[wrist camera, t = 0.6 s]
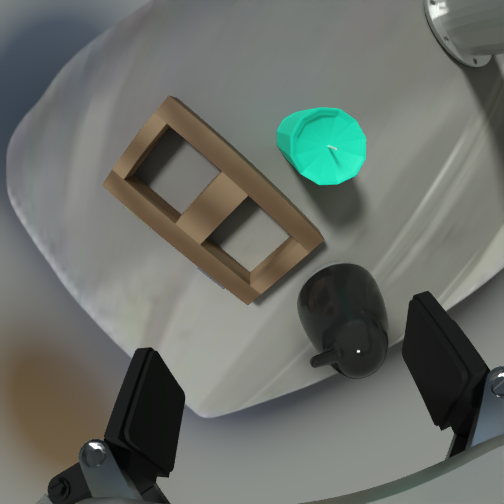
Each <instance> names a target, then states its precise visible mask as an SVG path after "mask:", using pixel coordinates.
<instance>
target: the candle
mask: <svg viewBox="0 0 504 504" xmlns="http://www.w3.org/2000/svg"><path fill="white" fill-rule="evenodd" d="M277 146H278V147H279V149H280V151H281V152H282V154H283V155H284V157H285V158H286V159H287V160H288V161H289V162H290V163H291V164H292V165H293V166H294V168H295V169H296V170H297V171H298V172H299V173H300V174H301V175H303V176H305V177H306V178H308V179H310V180H312V181H313V182H315V183H317V184H318V185H334V184H340V183H342V182H344V181H346V180H348V179H350V178H352V177H354V176H356V175H357V173H358V172H359V170H360V168H361V166H362V164H363V163H364V161H365V159H366V137H365V135H364V134H363V132H362V130H361V128H360V126H359V125H358V123H357V121H356V120H355V119H354V118H352V117H351V116H349V115H348V114H346V113H345V112H344V111H342V110H341V109H336V108H321V107H319V108H314V109H308V110H303V111H298V112H295V113H293V114H291V115H289V116H288V117H286V118H284V119H283V121H282V122H281V124H280V126H279V128H278V130H277Z"/></svg>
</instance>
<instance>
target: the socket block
mask: <svg viewBox="0 0 504 504" xmlns="http://www.w3.org/2000/svg"><path fill="white" fill-rule="evenodd" d="M171 127H172V128H173V129H174V130H175V131H176V132H177V133H179V134H180V135H181V136H182V137H183V138H184V139H186V140H187V141H188V142H189V143H190V144H191V145H192V146H194V147H195V148H196V149H197V150H198V151H199V152H201V153H202V154H203V155H204V156H205V157H206V158H207V159H208V160H210V161H211V162H212V163H213V164H214V165H215V166H216V167H217V168H219V169H220V170H221V172H220V173H219V174H218V175H217V176H216V177H215V178H214V179H213V180H212V181H211V183H210V184H209V185H208V186H207V187H206V188H205V189H204V190H203V191H202V192H201V193H200V195H199V196H198V197H197V198H196V199H195V200H194V201H193V202H192V203H191V205H190V206H189V207H188V208H187V209H186V210H185V211H184V213H183V214H182V215H181V214H180V213H179V212H178V211H176V210H175V209H174V208H173V207H172V206H171V205H169V204H168V203H167V202H166V201H165V200H164V199H162V198H161V197H160V196H159V195H158V194H157V193H155V192H154V191H153V190H152V189H151V188H150V187H149V186H147V185H146V184H145V183H144V182H143V181H142V180H140V179H139V178H138V177H137V176H136V175H135V174H134V173H135V172H136V170H137V169H138V168H139V166H140V165H141V164H142V162H143V161H144V160H145V158H146V157H147V156H148V155H149V153H150V152H151V151H152V149H153V148H154V147H155V146H156V144H157V143H158V142H159V141H160V140H161V138H162V137H163V136H164V135H165V133H166V132H167V131H168V130H169V129H170V128H171ZM102 186H103V187H104V188H106V189H107V190H108V191H109V192H110V193H111V194H112V195H113V196H115V197H116V198H117V199H118V200H119V201H120V202H121V203H123V204H124V208H125V209H127V210H128V211H129V212H130V213H131V214H132V215H134V216H135V217H136V218H137V219H138V220H139V221H141V222H142V223H143V224H144V225H145V226H146V227H148V228H149V229H151V228H152V229H153V230H154V231H155V232H156V233H158V234H159V235H160V236H161V237H162V238H164V239H165V240H166V241H167V242H168V243H170V244H171V245H172V246H173V247H175V248H176V249H177V250H178V251H179V252H181V253H182V254H183V255H184V256H186V257H187V258H188V259H189V260H190V261H192V262H193V263H194V264H195V265H197V266H198V269H199V270H200V271H201V272H203V273H204V274H205V275H206V276H208V277H209V278H210V279H211V280H213V281H214V282H215V283H217V284H218V285H219V286H220V287H222V288H223V289H225V288H226V289H227V290H228V291H230V292H231V293H232V294H234V295H235V296H236V297H237V298H239V299H240V300H241V301H243V302H244V303H245V304H247V305H249V304H250V303H251V302H253V301H254V300H255V299H256V298H257V297H259V296H260V295H261V294H262V293H263V292H264V291H266V290H267V289H268V288H269V287H270V286H272V285H273V284H274V283H275V282H276V281H277V280H279V279H280V278H281V277H282V276H283V275H284V274H286V273H287V272H288V271H289V270H290V269H291V268H293V267H294V266H295V265H296V264H297V263H298V262H300V261H301V260H302V259H303V258H304V257H305V256H306V255H308V254H309V253H310V252H311V251H312V250H313V249H314V248H316V247H317V246H318V245H319V244H320V243H321V242H322V241H323V240H324V238H323V236H322V235H321V233H320V231H319V230H318V228H317V227H316V226H315V225H314V224H313V223H312V222H311V221H310V220H309V219H308V218H307V217H306V216H305V215H304V214H303V213H302V212H301V211H300V210H299V209H298V208H297V207H296V206H295V205H294V204H293V203H292V202H291V201H290V200H289V199H288V198H287V197H286V196H285V195H284V194H283V193H282V192H281V191H280V190H279V189H278V188H277V187H276V186H275V185H274V184H273V183H272V182H271V181H269V180H268V179H267V178H266V177H265V176H264V175H263V174H262V173H261V172H260V171H259V170H258V169H257V168H256V167H255V166H254V165H253V164H252V163H250V162H249V161H248V160H247V159H246V158H245V157H244V156H243V155H242V154H241V153H240V152H239V151H237V150H236V149H235V148H234V147H233V146H232V145H231V144H230V143H229V142H227V141H226V140H225V139H224V138H223V137H222V136H221V135H220V134H218V133H217V132H216V131H215V130H214V129H213V128H212V127H211V126H209V125H208V124H207V123H206V122H205V121H204V120H202V119H201V118H200V117H199V116H198V115H197V114H195V113H194V112H193V111H192V110H191V109H189V108H188V107H187V106H186V105H185V104H183V103H182V102H181V101H180V100H179V99H177V98H175V97H172V96H168V97H167V99H166V100H165V101H164V102H163V103H162V104H161V106H160V107H159V108H158V109H157V110H156V112H155V113H154V114H153V115H152V116H151V118H150V119H149V120H148V121H147V123H146V124H145V125H144V126H143V128H142V129H141V130H140V132H139V133H138V134H137V136H136V137H135V138H134V140H133V141H132V142H131V144H130V145H129V146H128V148H127V149H126V150H125V152H124V153H123V155H122V156H121V157H120V159H119V160H118V162H117V163H116V165H115V166H114V168H113V169H112V171H111V172H110V174H109V175H108V177H107V178H106V180H105V181H104V183H103V184H102ZM247 196H249V197H251V198H252V199H253V200H254V201H255V202H256V203H257V204H258V205H259V206H260V207H261V208H262V209H264V210H265V211H266V212H267V213H268V214H269V215H270V216H271V217H272V218H273V219H274V220H275V221H276V222H277V223H278V224H279V225H281V226H282V227H283V228H284V229H285V230H286V231H287V232H288V233H289V234H290V235H291V236H290V237H289V238H288V239H287V240H286V241H285V242H284V243H283V244H281V245H280V246H279V247H278V248H277V249H276V250H275V251H274V252H273V253H272V254H270V255H269V256H268V257H267V258H266V259H265V260H264V261H263V262H262V263H260V264H259V265H258V266H257V267H256V268H255V269H254V270H253V271H252V272H249V271H248V270H246V269H245V268H244V267H243V266H242V265H240V264H239V263H238V262H237V261H236V260H234V259H233V258H232V257H231V256H230V255H228V254H227V253H226V252H225V251H224V250H222V249H221V248H220V247H219V246H218V245H217V244H215V243H214V242H213V241H212V240H211V239H209V238H208V236H209V235H210V234H211V233H212V232H213V231H214V230H215V229H216V228H217V227H218V226H219V225H220V223H221V222H222V221H223V220H224V219H225V218H226V217H227V216H228V215H229V214H230V213H231V212H232V211H233V210H234V209H235V208H236V207H237V206H238V205H239V204H240V203H241V202H242V201H243V200H244V199H245V198H246V197H247Z"/></svg>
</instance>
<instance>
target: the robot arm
mask: <svg viewBox="0 0 504 504" xmlns="http://www.w3.org/2000/svg"><path fill="white" fill-rule="evenodd" d="M424 7H425V13H426V17H427V20H428V22H429V25H430V27H431V29H432V31H433V33H434V34H435V36H436V38H437V39H438V41H439V42H440V43H441V45H442V46H443V47H444V48H445V49H446V51H447V52H448V53H449V54H450V55H451V56H452V57H454V58H455V59H456V60H458V61H459V62H460V63H462V64H464V65H466V66H470V67H482V66H484V65H486V64H487V63H488V62H489V61H490V59H491V56H492V55H498V54H504V0H425V4H424ZM402 355H403V359H404V361H405V363H406V364H407V366H408V369H409V371H410V373H411V375H412V376H413V379H414V381H415V383H416V385H417V387H418V389H419V391H420V394H421V395H422V398H423V400H424V402H425V404H426V407H427V409H428V411H429V413H430V415H431V418H432V420H433V422H434V424H435V425H436V426H438V425H439V427H440V429H441V431H442V430H444V429H446V428H448V427H450V426H451V427H452V430H453V432H454V436H453V439H452V442H451V444H450V448H449V450H448V453H447V455H446V458H445V460H444V461H442V462H440V463H438V464H435V465H433V466H431V467H428V468H426V469H424V470H421V471H419V472H416V473H414V474H411V475H409V476H406V477H403V478H401V479H398V480H395V481H392V482H389V483H386V484H383V485H380V486H377V487H373V488H370V489H367V490H363V491H359V492H356V493H352V494H347V495H343V496H339V497H335V498H329V499H324V500H319V501H313V502H306V503H300V504H504V366H500V367H496V368H494V369H493V370H491V371H490V369H489V368H488V366H487V365H486V363H485V362H484V360H483V359H482V358H481V356H480V355H479V353H478V352H477V350H476V349H475V347H474V346H473V345H472V343H471V342H470V341H469V339H468V338H467V337H466V335H465V334H464V332H463V331H462V330H461V328H460V327H459V326H458V325H457V323H456V322H455V321H454V320H452V319H451V318H450V317H449V315H448V314H447V313H446V311H445V310H444V309H443V308H442V306H441V305H440V304H439V303H438V301H437V300H436V299H435V298H434V297H433V295H432V294H431V293H430V292H429V291H426V292H422V293H419V294H416V295H414V296H413V299H412V300H410V302H409V308H408V316H407V323H406V330H405V336H404V342H403V347H402ZM184 404H185V394H184V391H183V390H182V388H181V387H180V386H179V384H178V383H177V381H176V380H175V378H174V376H173V375H172V373H171V372H170V370H169V369H168V367H167V366H166V364H165V362H164V361H163V359H162V358H161V356H160V354H159V353H158V352H157V351H154V349H153V348H151V347H149V348H138V349H136V351H135V353H134V356H133V358H132V361H131V363H130V366H129V368H128V371H127V373H126V376H125V378H124V381H123V384H122V387H121V389H120V392H119V394H118V397H117V400H116V403H115V405H114V408H113V411H112V414H111V417H110V420H109V423H108V426H107V429H106V432H105V435H104V437H105V438H104V441H103V440H100V439H92V440H89V441H88V442H86V443H85V444H84V445H83V446H82V447H81V449H80V452H79V462H78V463H76V464H75V465H73V466H72V467H70V468H68V469H67V470H65V471H63V472H62V473H60V474H58V475H56V476H55V477H54V478H53V479H51V481H50V483H49V486H48V494H49V495H47V494H45V495H43V497H42V498H41V499H40V500H39V501H38V502H37V503H36V504H171V503H170V502H169V501H168V499H167V498H166V497H165V495H164V494H163V492H162V491H161V489H160V488H159V486H158V485H157V483H156V478H157V476H158V477H168V478H169V474H170V472H171V471H172V470H173V468H174V463H175V457H176V450H177V444H178V438H179V432H180V426H181V421H182V415H183V409H184Z"/></svg>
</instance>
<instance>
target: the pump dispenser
mask: <svg viewBox="0 0 504 504" xmlns="http://www.w3.org/2000/svg"><path fill="white" fill-rule="evenodd" d="M297 309H298V314H299V318H300V321H301V323H302V325H303V328H304V330H305V332H306V334H307V336H308V338H309V339H310V341H311V343H312V344H313V346H314V347H315V349H316V350H317V351H318V353H319V354H318V355H316V356H313V357H312V358H311V359H310V364H311V366H312V367H314V368H317V367H321V366H325V365H328V364H329V365H330V366H331V367H332V368H333V369H335V370H336V371H337V372H339V373H340V374H342V375H344V376H346V377H349V378H354V379H359V378H364V377H367V376H370V375H372V374H373V373H374V372H376V371H377V370H378V369H379V368H380V367H381V365H382V364H383V362H384V360H385V357H386V354H387V349H388V342H389V327H388V317H387V312H386V307H385V304H384V300H383V297H382V295H381V292H380V289H379V287H378V285H377V283H376V281H375V279H374V278H373V276H372V275H371V274H370V273H369V272H368V271H367V270H366V269H364V268H363V267H361V266H358V265H355V264H352V263H349V262H344V261H335V262H329V263H326V264H324V265H322V266H320V267H318V268H317V269H315V270H314V271H313V272H312V273H311V274H310V275H309V276H308V277H307V279H306V280H305V282H304V284H303V286H302V289H301V291H300V293H299V296H298V301H297Z"/></svg>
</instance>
